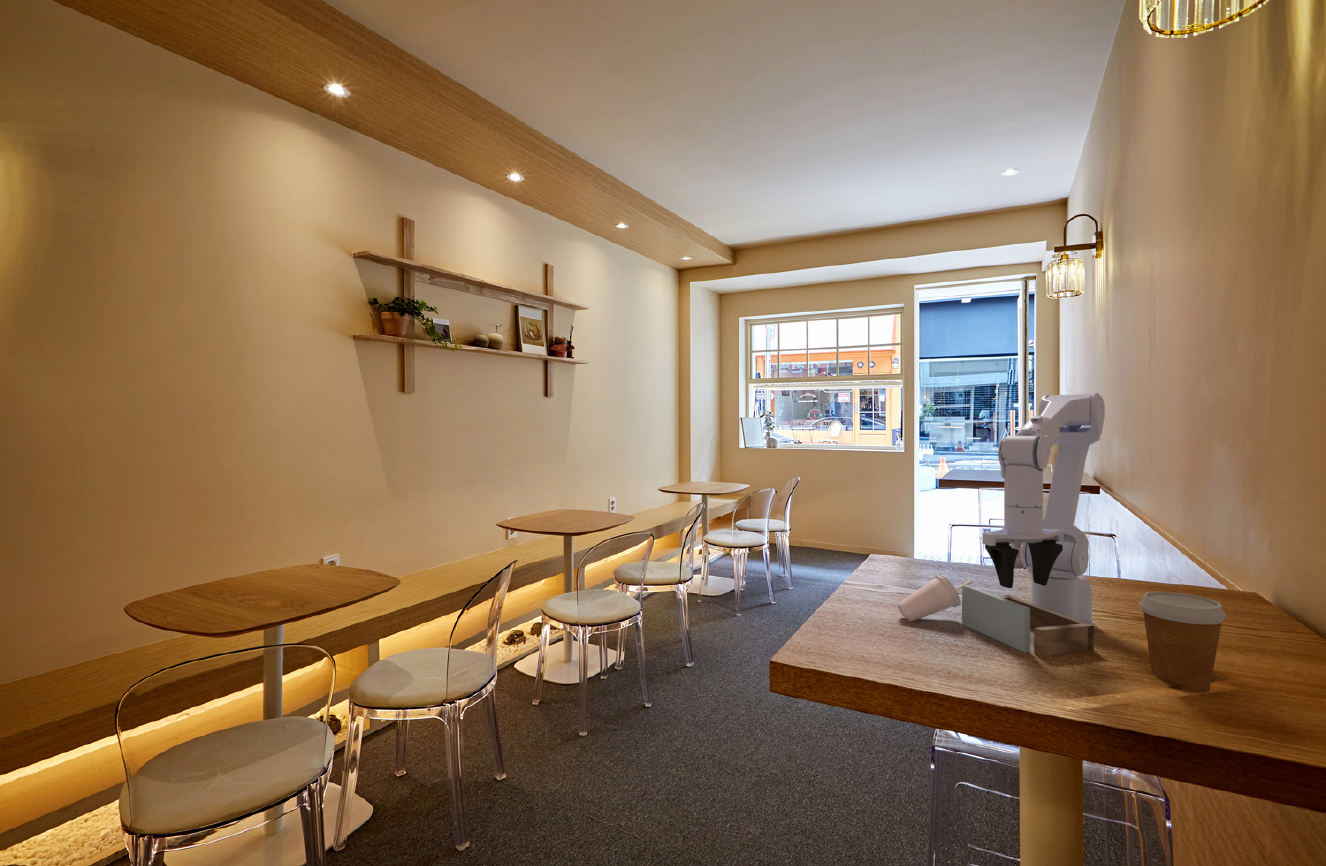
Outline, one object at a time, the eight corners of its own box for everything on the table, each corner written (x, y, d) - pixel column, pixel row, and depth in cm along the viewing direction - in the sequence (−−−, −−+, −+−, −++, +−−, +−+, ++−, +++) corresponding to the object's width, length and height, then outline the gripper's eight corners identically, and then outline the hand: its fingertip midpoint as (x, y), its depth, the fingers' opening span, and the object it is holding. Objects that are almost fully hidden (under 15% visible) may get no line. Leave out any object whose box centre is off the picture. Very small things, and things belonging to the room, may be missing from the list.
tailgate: (966, 623, 112) (967, 584, 112) (1029, 652, 98) (1030, 608, 98) (962, 623, 112) (962, 585, 112) (1024, 652, 98) (1024, 608, 98)
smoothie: (918, 631, 111) (987, 595, 112) (899, 597, 112) (967, 562, 113) (906, 627, 117) (972, 593, 118) (889, 595, 119) (953, 562, 119)
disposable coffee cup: (1121, 671, 93) (1122, 591, 93) (1181, 669, 94) (1181, 589, 93) (1180, 700, 83) (1180, 610, 83) (1245, 696, 84) (1246, 608, 84)
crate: (1008, 621, 116) (1009, 595, 116) (1093, 656, 99) (1093, 625, 99) (962, 625, 114) (962, 598, 114) (1040, 662, 97) (1040, 630, 97)
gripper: (1040, 501, 111) (1040, 577, 112) (969, 504, 108) (969, 582, 109) (1074, 506, 105) (1074, 587, 105) (999, 509, 101) (999, 592, 102)
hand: (1023, 585), depth 106 cm, fingers open, 6 cm apart
